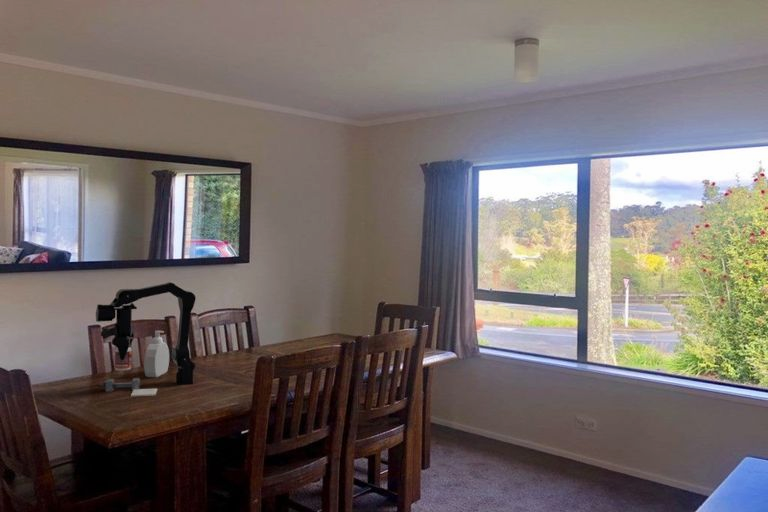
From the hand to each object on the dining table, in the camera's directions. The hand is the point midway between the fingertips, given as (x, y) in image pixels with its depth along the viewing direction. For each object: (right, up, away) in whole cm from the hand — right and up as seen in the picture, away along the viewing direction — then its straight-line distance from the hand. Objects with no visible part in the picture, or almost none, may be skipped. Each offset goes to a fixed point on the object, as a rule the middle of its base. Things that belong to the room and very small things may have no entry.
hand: (123, 358), depth 245 cm
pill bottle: (0, -5, 0) cm, 5 cm away
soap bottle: (+3, -12, +28) cm, 31 cm away
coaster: (+10, -13, -4) cm, 17 cm away
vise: (-2, -13, +1) cm, 13 cm away
